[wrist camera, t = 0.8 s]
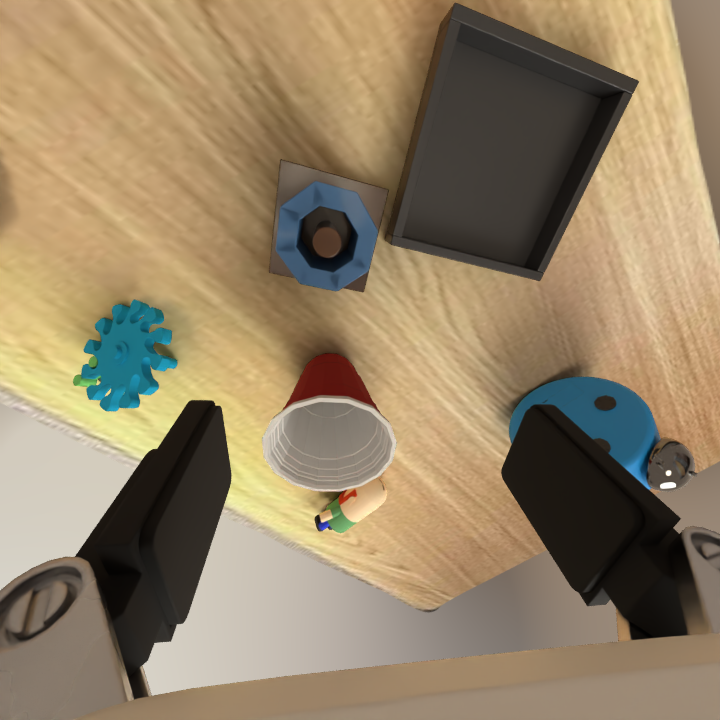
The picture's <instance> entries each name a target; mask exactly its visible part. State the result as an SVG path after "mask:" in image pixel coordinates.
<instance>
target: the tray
mask: <svg viewBox="0 0 720 720" xmlns="http://www.w3.org/2000/svg"><path fill="white" fill-rule="evenodd" d="M638 83H639V81H638V80H635V79H633V78H631V77H628V76H626V75H624V74H621V73H619V72H617V71H614V70H612V69H610V68H607V67H605V66H603V65H600V64H598V63H596V62H593V61H591V60H589V59H586V58H584V57H582V56H579V55H577V54H575V53H572V52H570V51H568V50H565V49H563V48H561V47H558V46H556V45H554V44H551V43H549V42H547V41H544V40H542V39H540V38H537V37H535V36H533V35H530V34H528V33H526V32H523V31H521V30H519V29H516V28H514V27H512V26H509V25H507V24H505V23H502V22H500V21H498V20H495V19H493V18H491V17H488V16H486V15H484V14H481V13H479V12H477V11H474V10H472V9H470V8H467V7H465V6H463V5H460V4H458V3H454V4H453V6H452V7H451V9H450V10H449V12H448V13H447V15H446V16H445V18H444V19H443V21H442V22H441V24H440V27H439V31H438V35H437V39H436V43H435V47H434V51H433V55H432V59H431V62H430V66H429V70H428V74H427V78H426V82H425V86H424V90H423V94H422V98H421V102H420V106H419V109H418V113H417V117H416V121H415V125H414V129H413V133H412V137H411V141H410V145H409V149H408V152H407V156H406V160H405V164H404V168H403V172H402V176H401V180H400V184H399V188H398V192H397V196H396V199H395V203H394V207H393V211H392V215H391V219H390V223H389V227H388V231H387V235H386V239H385V241H387V242H388V243H389V244H391V245H394V246H398V247H402V248H406V249H410V250H414V251H419V252H423V253H427V254H431V255H435V256H439V257H443V258H447V259H451V260H455V261H460V262H464V263H468V264H472V265H476V266H480V267H484V268H488V269H492V270H496V271H501V272H505V273H509V274H513V275H517V276H521V277H525V278H529V279H533V280H537V281H540V280H541V278H542V276H543V274H544V273H543V272H545V270H546V268H547V266H548V264H549V262H550V260H551V258H552V256H553V254H554V252H555V250H556V248H557V246H558V244H559V242H560V240H561V238H562V236H563V234H564V232H565V230H566V228H567V226H568V224H569V222H570V220H571V218H572V216H573V214H574V212H575V210H576V208H577V206H578V204H579V202H580V200H581V198H582V196H583V194H584V191H585V189H586V187H587V185H588V183H589V181H590V179H591V177H592V175H593V173H594V171H595V169H596V167H597V165H598V163H599V161H600V159H601V157H602V155H603V153H604V151H605V149H606V147H607V145H608V143H609V141H610V139H611V137H612V135H613V133H614V131H615V129H616V127H617V125H618V123H619V121H620V119H621V117H622V115H623V113H624V111H625V109H626V107H627V105H628V103H629V101H630V99H631V97H632V94H633V93H634V91H635V89H636V87H637V85H638Z"/></svg>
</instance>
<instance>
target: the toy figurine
mask: <svg viewBox="0 0 720 720" xmlns="http://www.w3.org/2000/svg"><path fill="white" fill-rule="evenodd" d="M386 497H387V488H386V485H385V483H384V482H383V481H382V480H381V479H380V478H379V477H377V478H375V479H373V480H372V481H370V482H368V483H366V484H364V485H363V486H360V487H356V488H352V489H347V490H345V491H344V492H343V493H341V494H340V496H339V497H338V498H337V499H336V500H334V501H333V502H332V503H330V504H329V505H328V506H327V508H326V511H324V512H322V513H320V514H319V515H317V516H316V517H315V523H316V527H317V529H318V531H323V530H324V529H326V528H327V527H328V529H329V530H332V529H333V530H334V531H336V532H338V533H343V532H345V531H346V530H347V529H349V528H350V527H352V526H353V525H354V524H356V523H357V522H359V521H360V520H361V519H363V518H364V517H366V516H367V515H368V514H370V513H371V512H373V511H374V510H375V509H377V508H378V507H379V506H381V505H382V504H383V503H384V501H385V500H386Z"/></svg>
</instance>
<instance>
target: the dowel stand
mask: <svg viewBox="0 0 720 720" xmlns="http://www.w3.org/2000/svg"><path fill="white" fill-rule="evenodd" d="M315 181H318V182H321V183H325V184H329V185H332V186H336V187H340V188H343V189H347V190H351V191H354V192H357V193H358V194H359V196H360V198H361V200H362V202H363V204H364V206H365V207H366V209H367V211H368V213H369V215H370V217H371V218H372V220H373V222H374V224H375V226H376V228H377V230H378V232H379V228H380V224H381V219H382V215H383V211H384V207H385V203H386V199H387V195H388V191H389V190H388V189H385V188H381V187H378V186H374V185H370V184H367V183H363V182H360V181H356V180H353V179H349V178H346V177H342V176H338V175H335V174H331V173H328V172H324V171H321V170H317V169H314V168H310V167H306V166H303V165H299V164H296V163H292V162H289V161H285V160H282V159H281V160H280V168H279V178H278V188H277V198H276V208H275V218H274V228H273V238H272V248H271V257H270V267H269V273H273V274H278V275H283V276H287V277H292V278H295V276H294V275H293V274H292V272H291V271H290V270H289V268H288V267H287V265H286V264H285V263H284V261H283V260H282V259H281V257H280V256H279V254H278V253H277V252H276V240H277V231H278V221H279V212H280V207H281V205H283V204H284V203H286V202H287V201H288V200H290V199H291V198H292V197H294V196H295V195H296V194H298V193H299V192H301V191H302V190H303V189H305V188H306V187H307V186H309V185H310V184H311V183H313V182H315ZM351 231H352V228H351V226H350V224H349V222H348V221H347V219H346V217H345V215H344V214H343V212H342V211H338V210H334V209H330V208H326V207H322V206H319V207H318V208H317V209H315V210H314V211H312V212H311V213H310V214H308V215H307V216H305V217H304V220H303V227H302V234H301V238H302V240H303V241H304V243H305V244H306V246H307V247H308V249H309V250H310V252H311V253H312V255H314V256H319V257H323V258H328V259H333V258H335V257H336V256H338V255H339V254H341V253H342V252H344V251H345V250H347V249H348V245H349V240H350V235H351ZM377 236H378V235H377ZM376 240H377V239H376ZM375 244H376V243H375ZM374 248H375V247H374ZM373 252H374V251H373ZM372 256H373V255H372ZM371 260H372V259H371ZM370 265H371V263H370ZM369 269H370V267H369ZM368 273H369V270H368V272H366V273H365V274H363V275H362V276H360V277H359V278H357V279H356V280H354V281H352V282H351V283H349V284H348V285H346V286H345V287H343V288H345V289H350V290H355V291H360V292H364V289H365V285H366V281H367V277H368Z"/></svg>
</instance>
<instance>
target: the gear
mask: <svg viewBox="0 0 720 720" xmlns="http://www.w3.org/2000/svg"><path fill="white" fill-rule="evenodd" d="M112 314H113V320H110V319H106V318H102V319H100V320H99V321H98V322H97V323H96V324H95V328H96V330H97V331H98V332H99V333H100V336H101V342H100V341H95V340H89V341H88V342H87V344H86V346H85V348H84V352H85V353H88V354H93V355H94V356H93V357H91V358H90V360H89V364H85V365H83V368H82V373H81V375H76V376H75V377H74V380H73V383H74V385H75V386H85V387H88V388H87V395H88V398H89V400H101V402H100V406H101V408H102V409H104V410H105V411H117V410H118V409H119V407H120V408H137V407H139V404H140V399H139V395H138V392H139V394H143V395H151V394H153V393H154V392H155V391H157V390H158V389H159V384H158V382H157V381H156V380H155V379H154V378H153V376H152V374H151V368H150V365H151V367H152V369H154V370H160V371H165V370H166V369H167V368H172V369H174V368H175V367H176V366H177V360H176V359H172V358H170V357H168V356H164V355H159V354H158V353H157V352H156V351H155V350H154V348H153V345H154V342H157V343H161V344H165V345H168V344H170V342H171V338H172V331H171V330H168V329H164V328H158V329H156V330H155V331H153V332H151V333H149V328H150V326H151V325H152V324H161V323H162V322H163V321H164V315H163V313H162V311H161V310H159V309H156V308H153V307H151V308H150V307H149V305H147V304H146V303H143V302H140V301H137V300H135V299H134V300H133V301H132V303H131V305H130V307H127V306H124V305H121V304H118V305H115V306H113V308H112ZM143 315H144V317H143V318H142V319H141V320H139V319H140V317H141V316H143ZM97 379H98V380H99V381H100V382H101V383H100V384H99V385H96V383H97ZM110 389H111V393H110V394H109V395H108V396H106V397H105V395H106V393H107V392H108V391H109V390H110ZM124 392H125V393H124ZM123 394H124V395H123Z"/></svg>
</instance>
